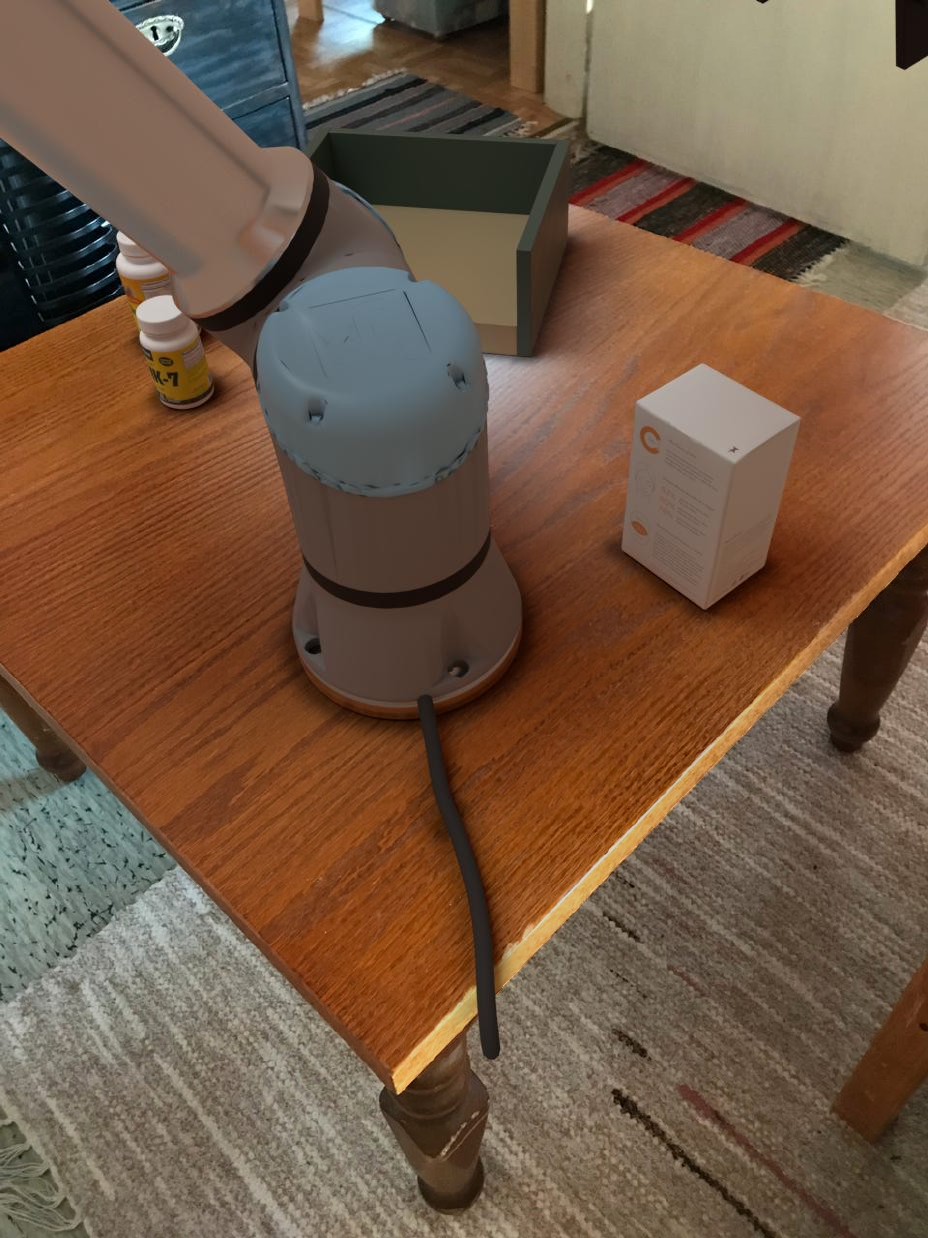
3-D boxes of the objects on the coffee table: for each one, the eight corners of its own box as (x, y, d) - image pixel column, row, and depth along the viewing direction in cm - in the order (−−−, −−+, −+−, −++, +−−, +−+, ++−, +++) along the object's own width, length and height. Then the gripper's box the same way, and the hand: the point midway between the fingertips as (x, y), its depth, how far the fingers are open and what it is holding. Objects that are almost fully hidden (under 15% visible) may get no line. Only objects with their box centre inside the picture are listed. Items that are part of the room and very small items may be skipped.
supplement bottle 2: (148, 400, 85) (117, 314, 78) (185, 371, 87) (158, 285, 81) (190, 417, 83) (161, 330, 77) (226, 387, 86) (202, 300, 79)
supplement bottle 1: (141, 325, 92) (105, 221, 85) (200, 314, 93) (170, 210, 85) (144, 358, 89) (107, 253, 81) (205, 347, 90) (174, 241, 82)
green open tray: (530, 357, 86) (530, 250, 79) (268, 332, 91) (244, 229, 83) (567, 241, 99) (570, 139, 91) (335, 224, 103) (320, 126, 96)
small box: (765, 567, 69) (806, 417, 59) (704, 613, 66) (735, 464, 56) (679, 508, 73) (702, 358, 63) (617, 549, 70) (632, 400, 61)
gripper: (1128, -538, 35) (1057, 49, 51) (733, -500, 51) (776, -61, 67) (945, -421, 35) (933, 126, 51) (608, -420, 51) (681, -2, 67)
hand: (844, 21), depth 59 cm, fingers open, 13 cm apart
